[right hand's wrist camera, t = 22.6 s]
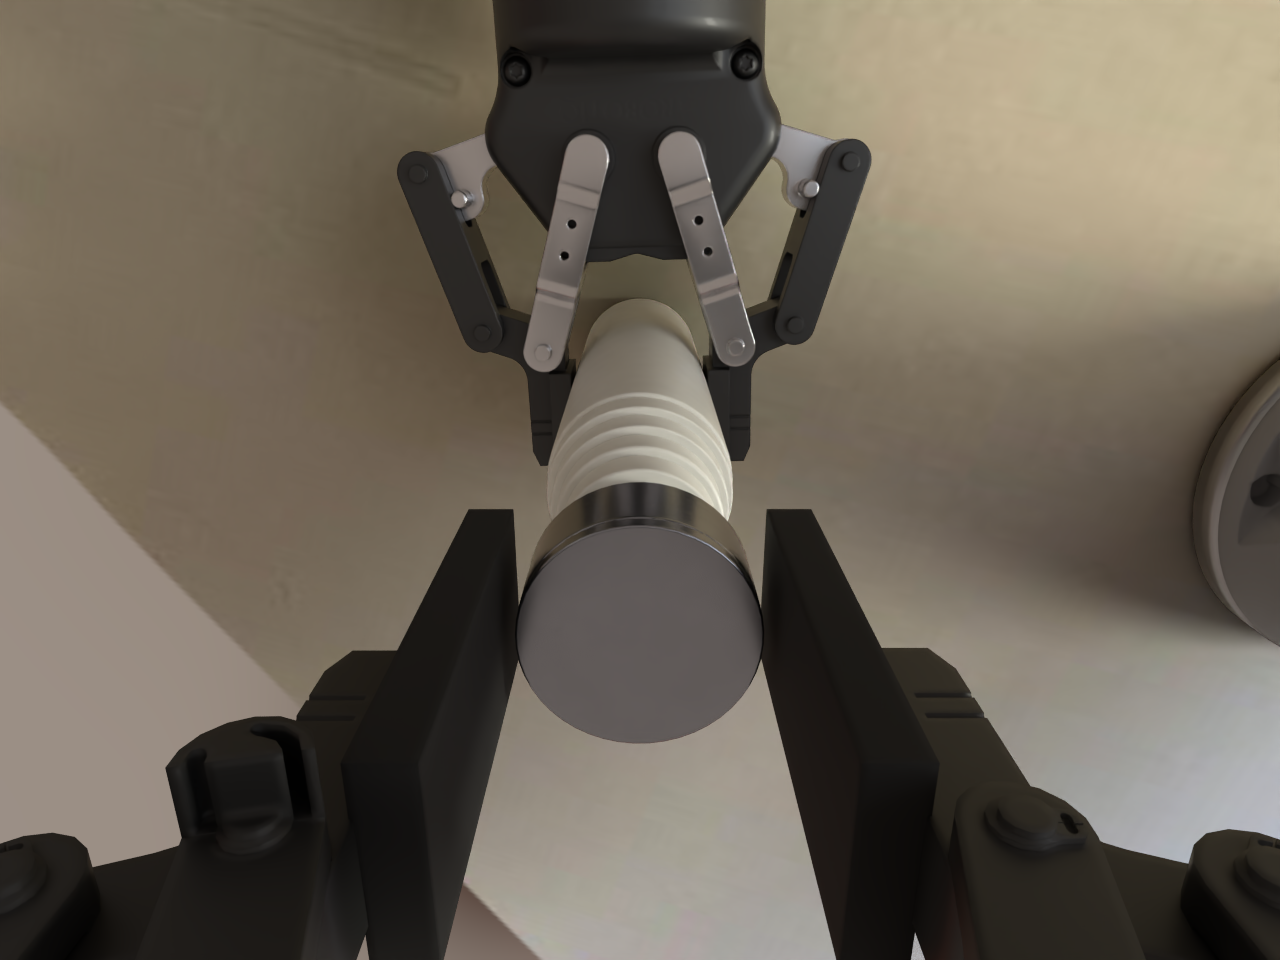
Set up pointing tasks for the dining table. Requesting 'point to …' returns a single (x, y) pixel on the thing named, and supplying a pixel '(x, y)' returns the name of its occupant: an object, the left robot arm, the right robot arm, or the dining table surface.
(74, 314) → the dining table surface
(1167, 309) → the dining table surface
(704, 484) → the bottle
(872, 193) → the dining table surface
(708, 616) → the cap
